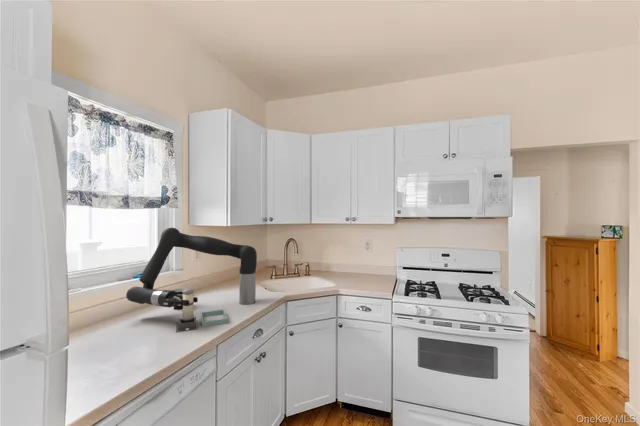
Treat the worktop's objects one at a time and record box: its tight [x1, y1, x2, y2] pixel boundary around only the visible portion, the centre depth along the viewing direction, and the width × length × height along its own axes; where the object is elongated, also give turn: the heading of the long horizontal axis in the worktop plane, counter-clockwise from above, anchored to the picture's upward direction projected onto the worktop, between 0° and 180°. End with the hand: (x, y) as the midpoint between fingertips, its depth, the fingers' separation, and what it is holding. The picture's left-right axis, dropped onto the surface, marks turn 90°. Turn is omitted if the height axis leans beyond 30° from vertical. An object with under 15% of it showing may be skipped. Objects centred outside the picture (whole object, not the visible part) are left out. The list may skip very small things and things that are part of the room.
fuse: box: [182, 288, 195, 321], centre depth 132 cm, size 5×5×13 cm
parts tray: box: [200, 309, 229, 328], centre depth 141 cm, size 15×11×3 cm
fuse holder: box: [175, 316, 199, 333], centre depth 132 cm, size 12×9×4 cm
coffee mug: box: [172, 287, 189, 311], centre depth 164 cm, size 12×9×10 cm
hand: (192, 301), depth 131 cm, fingers closed on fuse, 4 cm apart
